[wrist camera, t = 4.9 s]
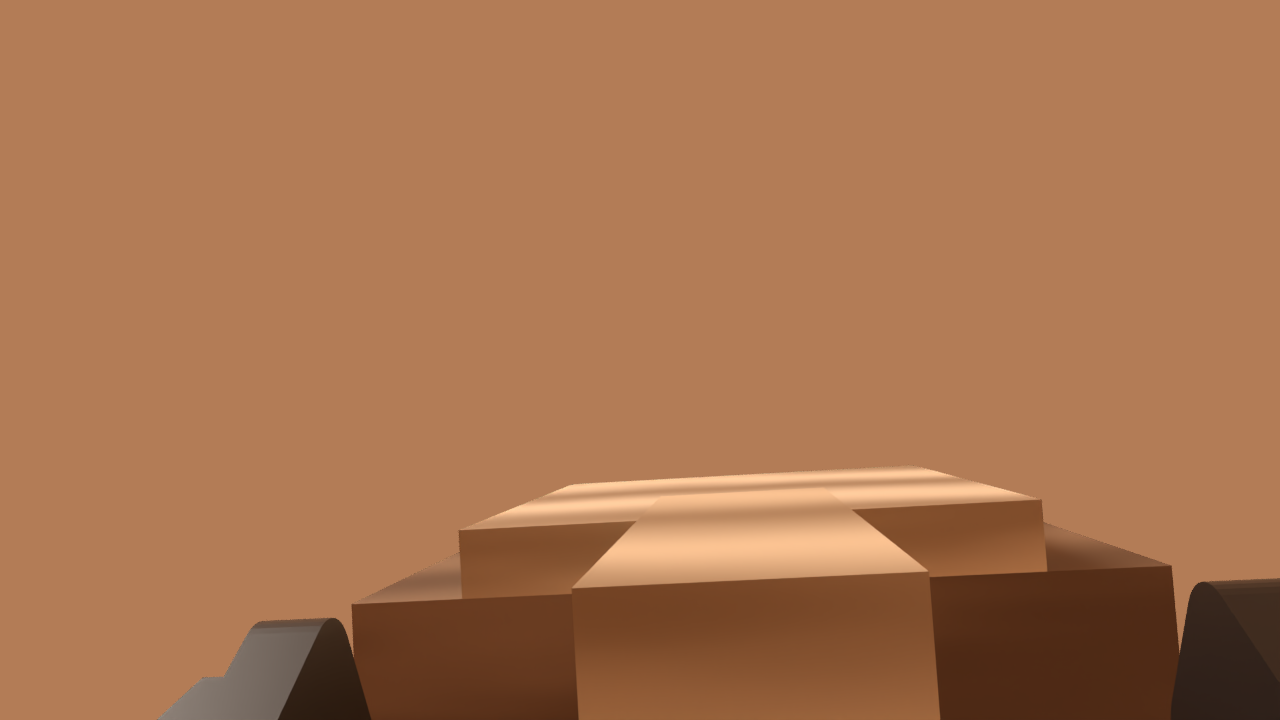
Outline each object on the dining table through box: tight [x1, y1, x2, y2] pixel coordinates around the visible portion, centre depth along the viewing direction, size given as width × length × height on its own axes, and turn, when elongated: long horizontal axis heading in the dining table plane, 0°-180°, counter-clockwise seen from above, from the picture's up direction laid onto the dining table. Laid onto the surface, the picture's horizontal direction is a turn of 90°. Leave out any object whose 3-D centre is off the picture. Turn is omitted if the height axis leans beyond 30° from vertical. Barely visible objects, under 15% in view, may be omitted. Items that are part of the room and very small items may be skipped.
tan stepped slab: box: [459, 465, 1047, 720], centre depth 20 cm, size 23×10×2 cm, turn 175°
